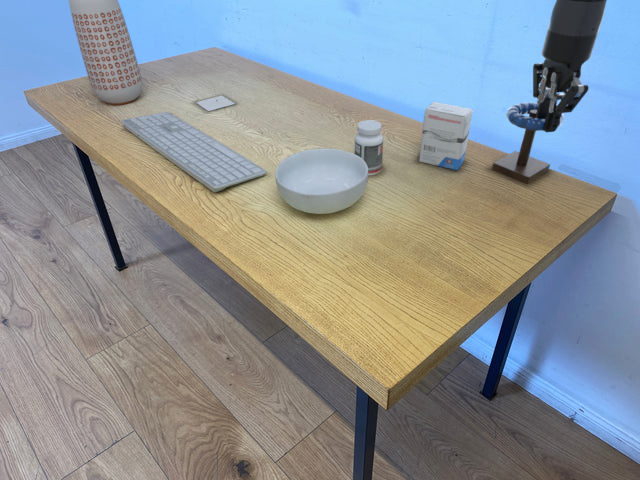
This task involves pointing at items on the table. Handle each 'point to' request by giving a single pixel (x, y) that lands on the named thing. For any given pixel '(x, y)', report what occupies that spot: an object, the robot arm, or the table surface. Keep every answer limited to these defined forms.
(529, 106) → the blue teething ring
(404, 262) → the table surface
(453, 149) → the ink box
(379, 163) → the pill bottle
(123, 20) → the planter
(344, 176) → the cereal bowl
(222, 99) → the coaster
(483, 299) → the table surface
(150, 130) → the keyboard
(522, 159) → the stand
